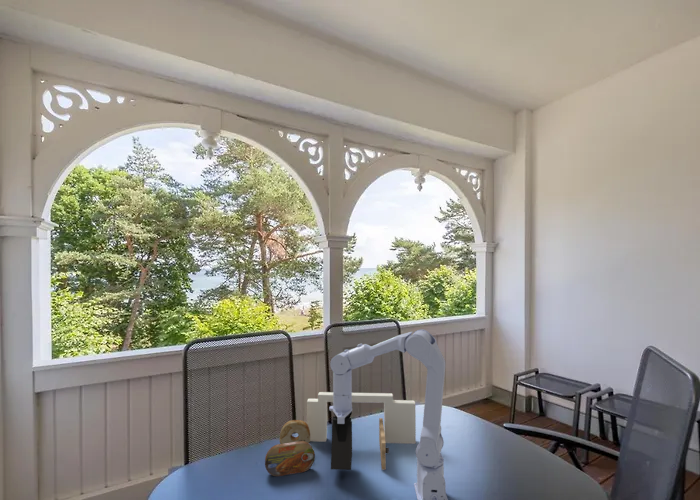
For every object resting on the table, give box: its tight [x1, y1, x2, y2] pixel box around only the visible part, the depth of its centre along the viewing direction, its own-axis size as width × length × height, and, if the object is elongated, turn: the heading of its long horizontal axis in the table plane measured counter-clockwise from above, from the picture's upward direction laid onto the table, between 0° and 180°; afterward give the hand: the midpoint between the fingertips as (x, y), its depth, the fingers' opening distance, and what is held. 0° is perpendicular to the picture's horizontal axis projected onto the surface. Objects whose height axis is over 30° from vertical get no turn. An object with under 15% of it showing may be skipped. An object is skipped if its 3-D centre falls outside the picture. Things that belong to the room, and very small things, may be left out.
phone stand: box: [330, 420, 353, 471], centre depth 109 cm, size 9×6×12 cm, turn 177°
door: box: [378, 417, 390, 471], centre depth 119 cm, size 19×2×8 cm, turn 178°
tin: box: [264, 441, 316, 477], centre depth 109 cm, size 15×3×8 cm, turn 105°
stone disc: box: [279, 419, 311, 444], centre depth 122 cm, size 10×4×10 cm, turn 95°
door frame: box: [306, 391, 417, 445], centre depth 129 cm, size 3×39×16 cm, turn 88°
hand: (342, 438), depth 109 cm, fingers closed on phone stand, 3 cm apart
